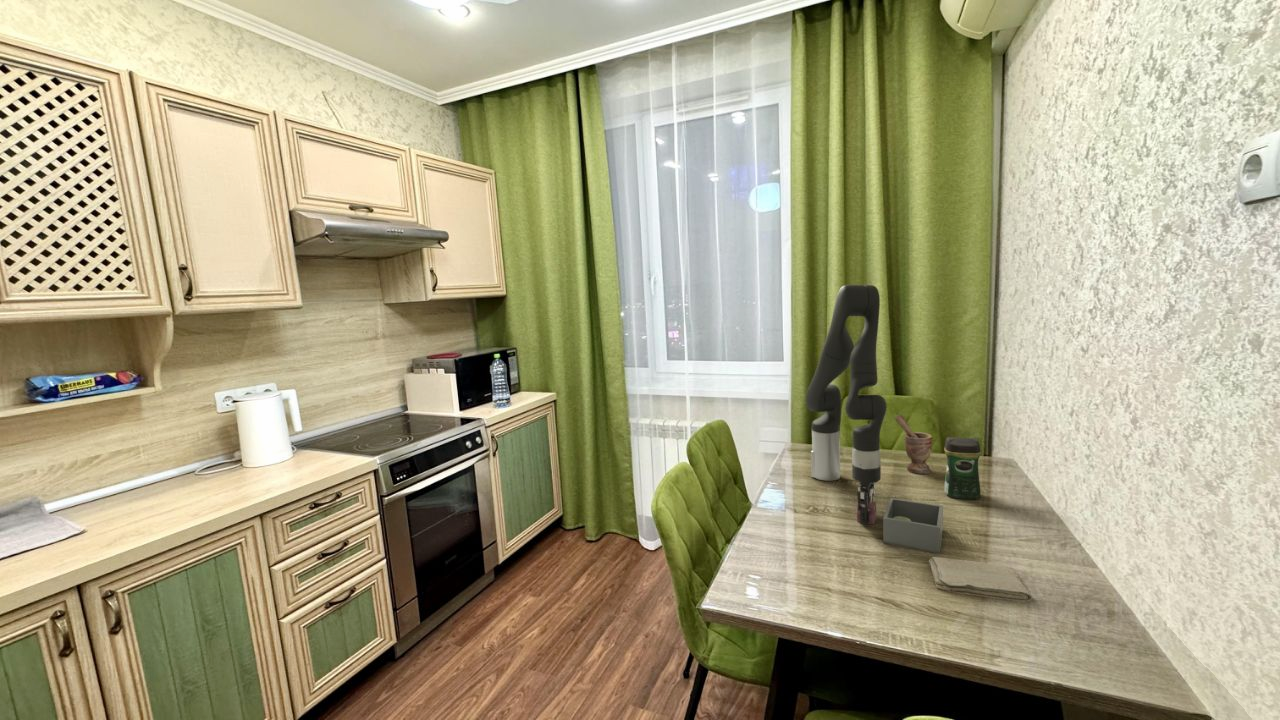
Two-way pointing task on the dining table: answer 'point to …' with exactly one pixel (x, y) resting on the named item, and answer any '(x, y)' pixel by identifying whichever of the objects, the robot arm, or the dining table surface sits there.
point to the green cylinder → (902, 518)
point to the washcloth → (978, 579)
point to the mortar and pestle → (916, 447)
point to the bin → (913, 525)
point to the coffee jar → (962, 468)
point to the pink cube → (871, 513)
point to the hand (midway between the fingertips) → (866, 517)
